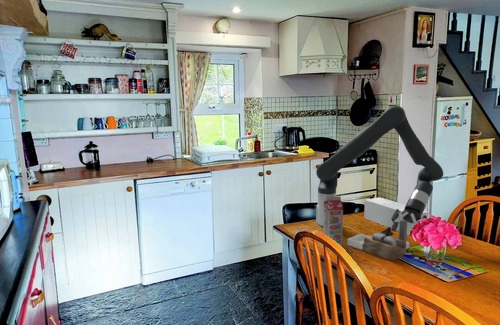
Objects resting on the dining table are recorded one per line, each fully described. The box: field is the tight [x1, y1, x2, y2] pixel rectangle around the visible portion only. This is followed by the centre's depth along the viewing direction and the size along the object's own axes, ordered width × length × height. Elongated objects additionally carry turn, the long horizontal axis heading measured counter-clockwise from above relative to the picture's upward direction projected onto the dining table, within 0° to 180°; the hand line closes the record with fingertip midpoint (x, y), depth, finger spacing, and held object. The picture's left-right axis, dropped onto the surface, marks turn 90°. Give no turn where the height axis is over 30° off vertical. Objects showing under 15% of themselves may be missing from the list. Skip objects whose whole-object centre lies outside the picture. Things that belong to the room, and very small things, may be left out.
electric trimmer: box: [380, 227, 392, 236], centre depth 172 cm, size 4×16×3 cm, turn 141°
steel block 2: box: [384, 235, 399, 249], centre depth 150 cm, size 4×4×4 cm
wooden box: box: [363, 236, 407, 261], centre depth 153 cm, size 14×10×6 cm
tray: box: [346, 233, 372, 251], centre depth 162 cm, size 8×10×3 cm
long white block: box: [363, 197, 430, 236], centre depth 187 cm, size 32×11×11 cm, turn 24°
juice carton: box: [322, 196, 344, 247], centre depth 162 cm, size 7×7×22 cm
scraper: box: [398, 220, 410, 250], centre depth 156 cm, size 3×6×12 cm, turn 129°
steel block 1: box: [371, 232, 386, 243], centre depth 155 cm, size 4×4×4 cm
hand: (402, 233), depth 156 cm, fingers open, 8 cm apart
